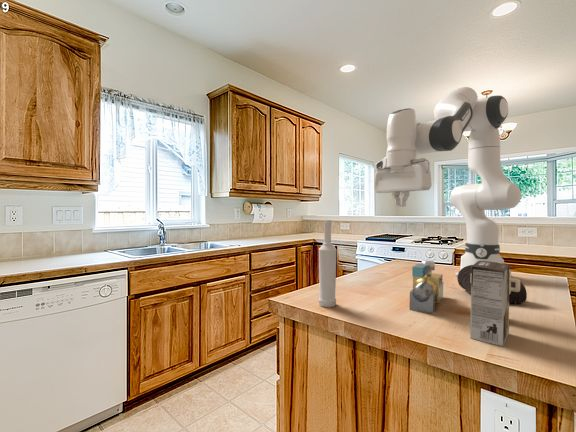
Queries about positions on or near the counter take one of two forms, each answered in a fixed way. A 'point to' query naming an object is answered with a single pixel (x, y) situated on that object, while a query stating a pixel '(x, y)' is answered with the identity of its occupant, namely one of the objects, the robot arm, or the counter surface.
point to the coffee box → (490, 302)
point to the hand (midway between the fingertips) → (400, 206)
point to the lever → (423, 268)
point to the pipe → (465, 283)
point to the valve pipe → (426, 292)
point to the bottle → (327, 269)
